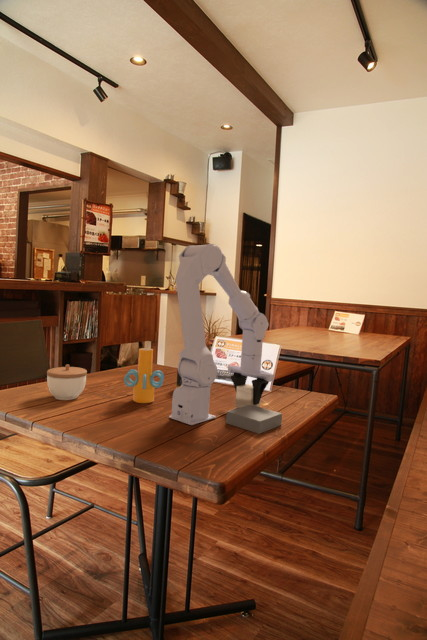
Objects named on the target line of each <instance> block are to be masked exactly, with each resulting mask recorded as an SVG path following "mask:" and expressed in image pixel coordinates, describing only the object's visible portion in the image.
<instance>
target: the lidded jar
mask: <svg viewBox="0 0 427 640" xmlns="http://www.w3.org/2000/svg"><path fill="white" fill-rule="evenodd" d="M87 374H88V371H87V369H86V368H84V367H83V368H82V367H76V366H70V364H65V366H61V367H60V366H59V367H53V368H49V369H48V370H47V371H46V376H47V378H46V380H47V388H48V390H49V392H50V394H51V395H52V396H53V397H54V399H56V400H58V401H70V400H75V399H77V398H78V397H79V396H80V395H81V394H82V393H83V392H84V389H85V387H86V383H87Z"/></svg>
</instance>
